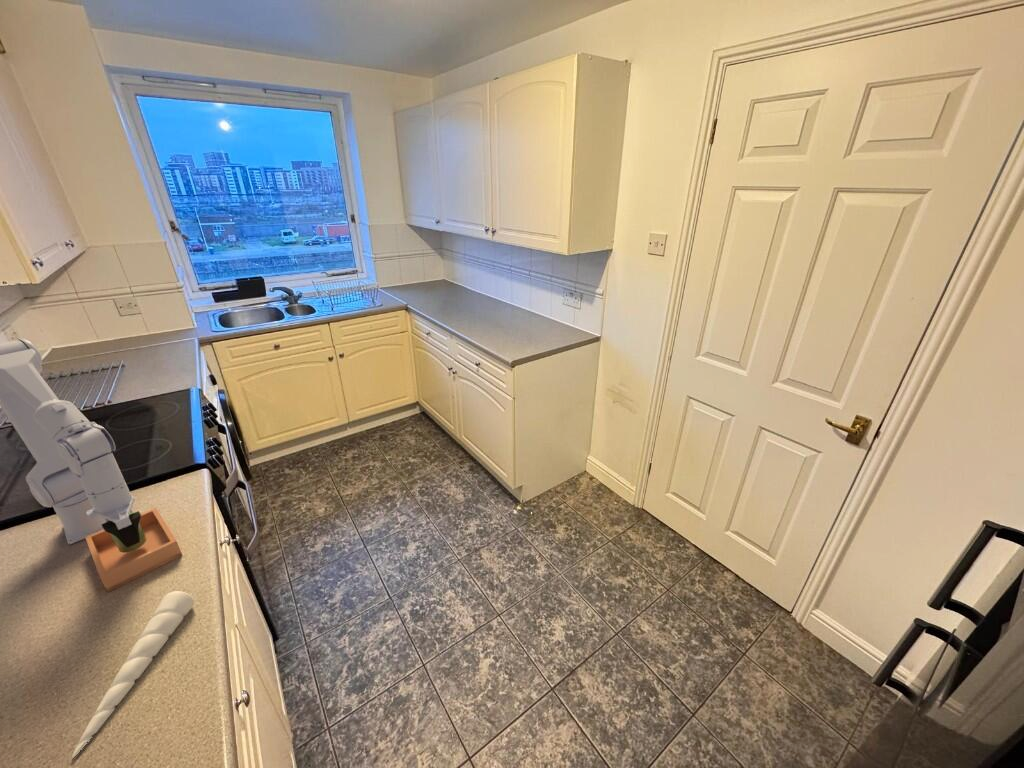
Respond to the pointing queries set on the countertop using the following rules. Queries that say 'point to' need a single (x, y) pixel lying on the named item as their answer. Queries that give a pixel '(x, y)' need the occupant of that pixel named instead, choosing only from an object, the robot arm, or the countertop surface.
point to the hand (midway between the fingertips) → (130, 538)
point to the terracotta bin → (133, 552)
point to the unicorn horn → (140, 657)
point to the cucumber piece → (127, 549)
